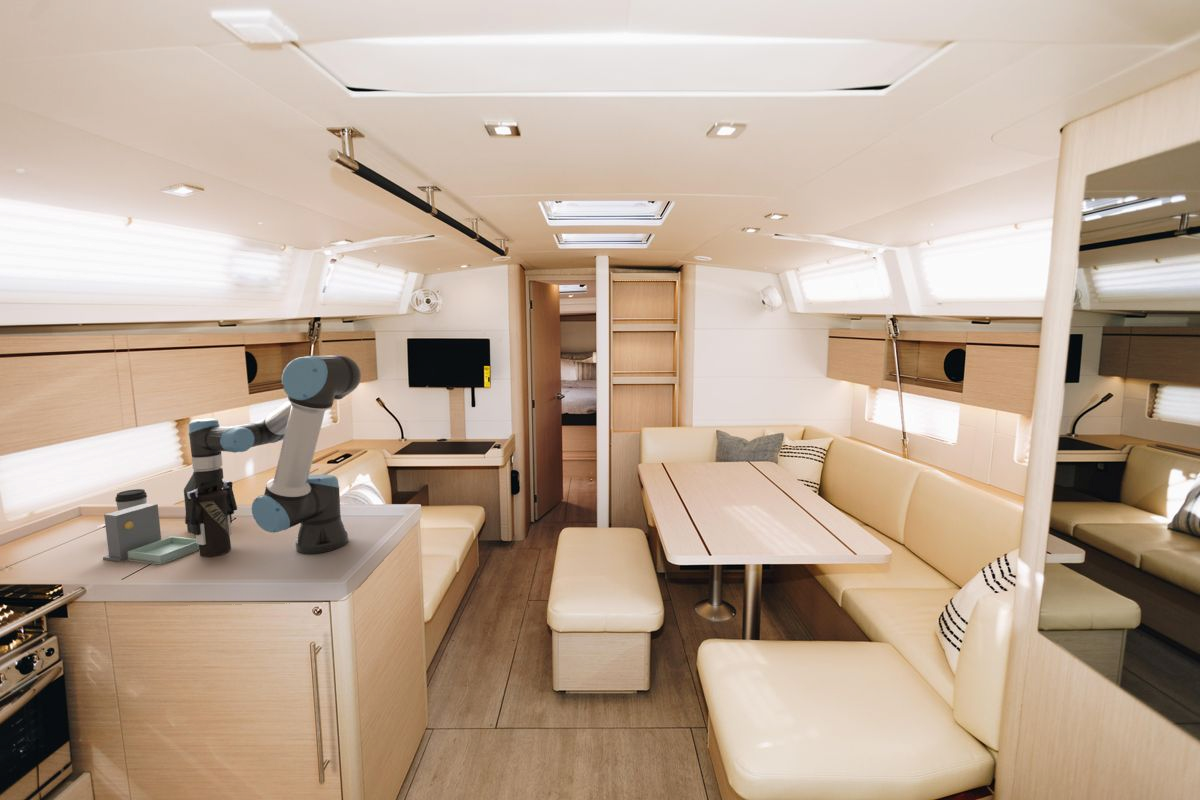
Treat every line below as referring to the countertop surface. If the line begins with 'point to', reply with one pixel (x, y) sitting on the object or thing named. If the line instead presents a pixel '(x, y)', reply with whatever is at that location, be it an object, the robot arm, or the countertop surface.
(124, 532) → the box
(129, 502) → the coffee cup
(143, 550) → the tray
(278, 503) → the robot arm
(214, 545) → the container
